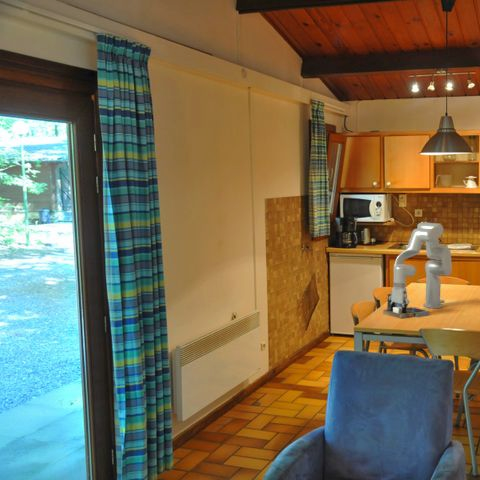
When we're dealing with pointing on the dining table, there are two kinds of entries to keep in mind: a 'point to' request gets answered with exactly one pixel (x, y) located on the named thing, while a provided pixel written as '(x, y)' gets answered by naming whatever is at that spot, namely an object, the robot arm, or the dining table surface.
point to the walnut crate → (401, 316)
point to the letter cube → (397, 310)
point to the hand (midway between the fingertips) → (398, 311)
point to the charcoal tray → (417, 312)
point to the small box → (395, 303)
